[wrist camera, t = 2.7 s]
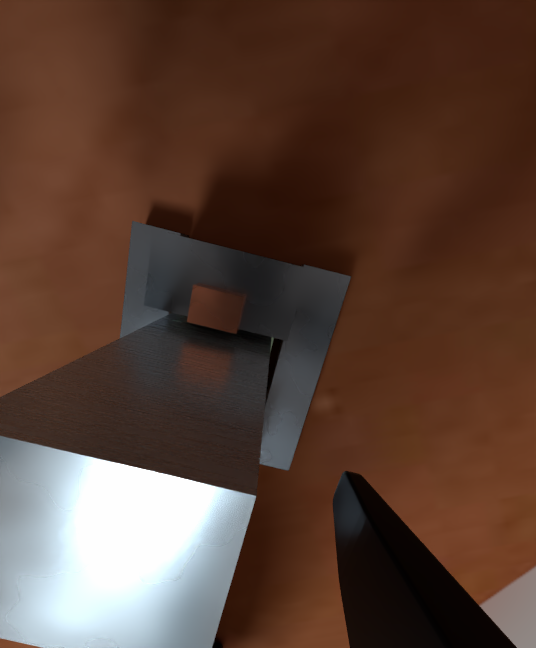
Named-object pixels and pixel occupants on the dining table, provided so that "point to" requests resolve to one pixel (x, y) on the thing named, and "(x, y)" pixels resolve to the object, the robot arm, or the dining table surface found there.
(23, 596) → the grey rectangular block
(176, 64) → the dining table surface
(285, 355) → the grey square frame
